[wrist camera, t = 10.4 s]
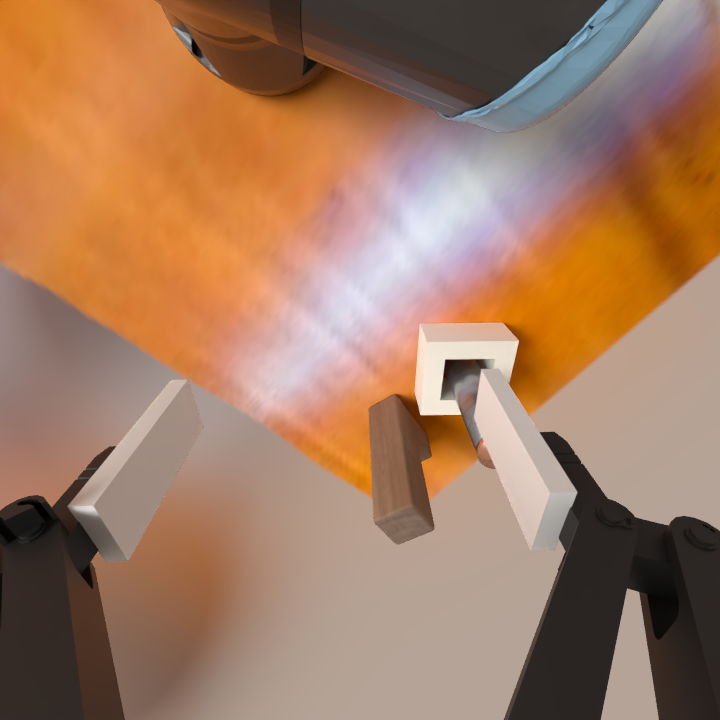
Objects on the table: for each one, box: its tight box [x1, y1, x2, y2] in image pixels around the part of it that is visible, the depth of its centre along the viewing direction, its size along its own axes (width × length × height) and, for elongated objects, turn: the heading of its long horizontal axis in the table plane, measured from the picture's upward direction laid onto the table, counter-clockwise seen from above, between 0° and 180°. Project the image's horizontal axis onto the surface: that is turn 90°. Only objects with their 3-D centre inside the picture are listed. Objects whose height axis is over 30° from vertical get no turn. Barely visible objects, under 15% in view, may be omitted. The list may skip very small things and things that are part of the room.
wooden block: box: [369, 394, 434, 544], centre depth 43 cm, size 9×4×18 cm, turn 34°
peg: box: [444, 359, 496, 469], centre depth 39 cm, size 4×4×17 cm
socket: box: [415, 322, 519, 415], centre depth 44 cm, size 10×10×5 cm
